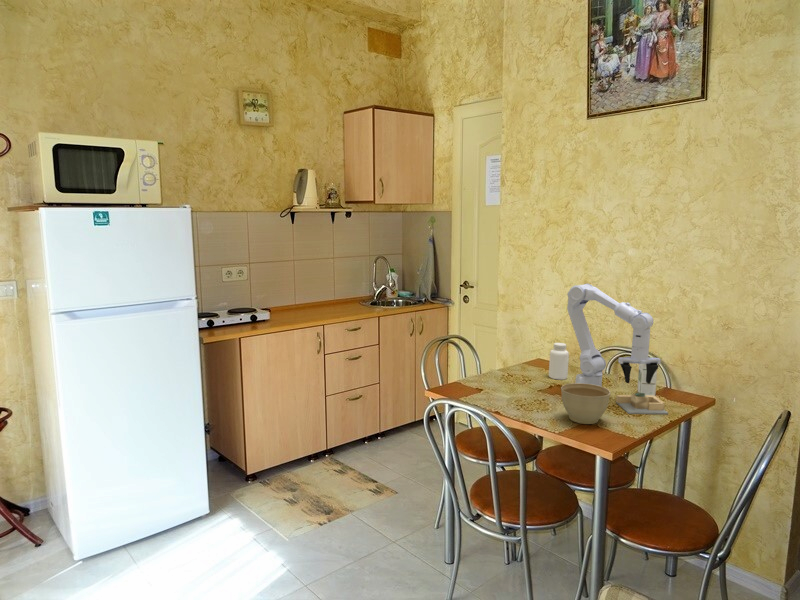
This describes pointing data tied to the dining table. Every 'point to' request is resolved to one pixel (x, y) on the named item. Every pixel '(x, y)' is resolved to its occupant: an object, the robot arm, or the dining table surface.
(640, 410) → the wall board
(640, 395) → the cabinet block
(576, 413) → the planter bowl
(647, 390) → the syrup box
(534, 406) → the dining table surface
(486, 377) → the dining table surface
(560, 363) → the pill bottle
